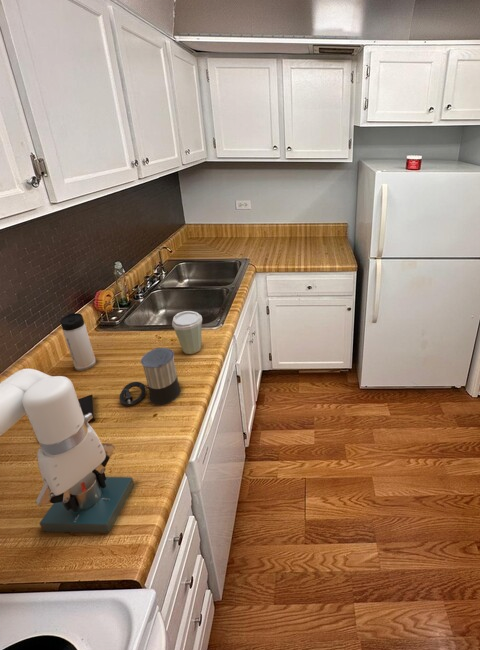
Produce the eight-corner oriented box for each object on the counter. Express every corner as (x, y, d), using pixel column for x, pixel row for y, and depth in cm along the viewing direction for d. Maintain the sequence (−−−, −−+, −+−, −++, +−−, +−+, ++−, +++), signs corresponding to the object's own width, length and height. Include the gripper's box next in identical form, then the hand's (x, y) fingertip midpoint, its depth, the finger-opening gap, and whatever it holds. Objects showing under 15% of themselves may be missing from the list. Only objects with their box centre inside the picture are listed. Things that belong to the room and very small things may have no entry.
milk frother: (186, 394, 106) (179, 356, 100) (134, 424, 95) (123, 383, 89) (166, 373, 115) (158, 337, 109) (116, 399, 104) (105, 360, 98)
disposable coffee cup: (209, 341, 132) (205, 308, 126) (202, 359, 122) (197, 324, 116) (183, 342, 132) (177, 309, 126) (173, 359, 122) (166, 324, 116)
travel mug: (96, 357, 123) (82, 310, 115) (96, 367, 118) (82, 318, 110) (75, 363, 119) (60, 315, 112) (75, 373, 114) (58, 324, 107)
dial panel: (43, 532, 69) (38, 522, 68) (76, 484, 79) (72, 475, 77) (109, 533, 69) (106, 524, 68) (134, 485, 78) (132, 476, 77)
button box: (43, 441, 89) (38, 430, 88) (45, 416, 97) (41, 406, 96) (95, 421, 96) (92, 411, 94) (94, 399, 103) (90, 389, 102)
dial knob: (73, 497, 73) (66, 480, 71) (99, 482, 76) (94, 466, 74) (76, 516, 70) (69, 499, 68) (103, 500, 72) (97, 483, 71)
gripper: (98, 399, 74) (116, 457, 81) (2, 460, 61) (33, 523, 67) (117, 413, 71) (134, 472, 77) (19, 480, 57) (50, 545, 64)
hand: (87, 495), depth 72 cm, fingers closed on dial knob, 5 cm apart
